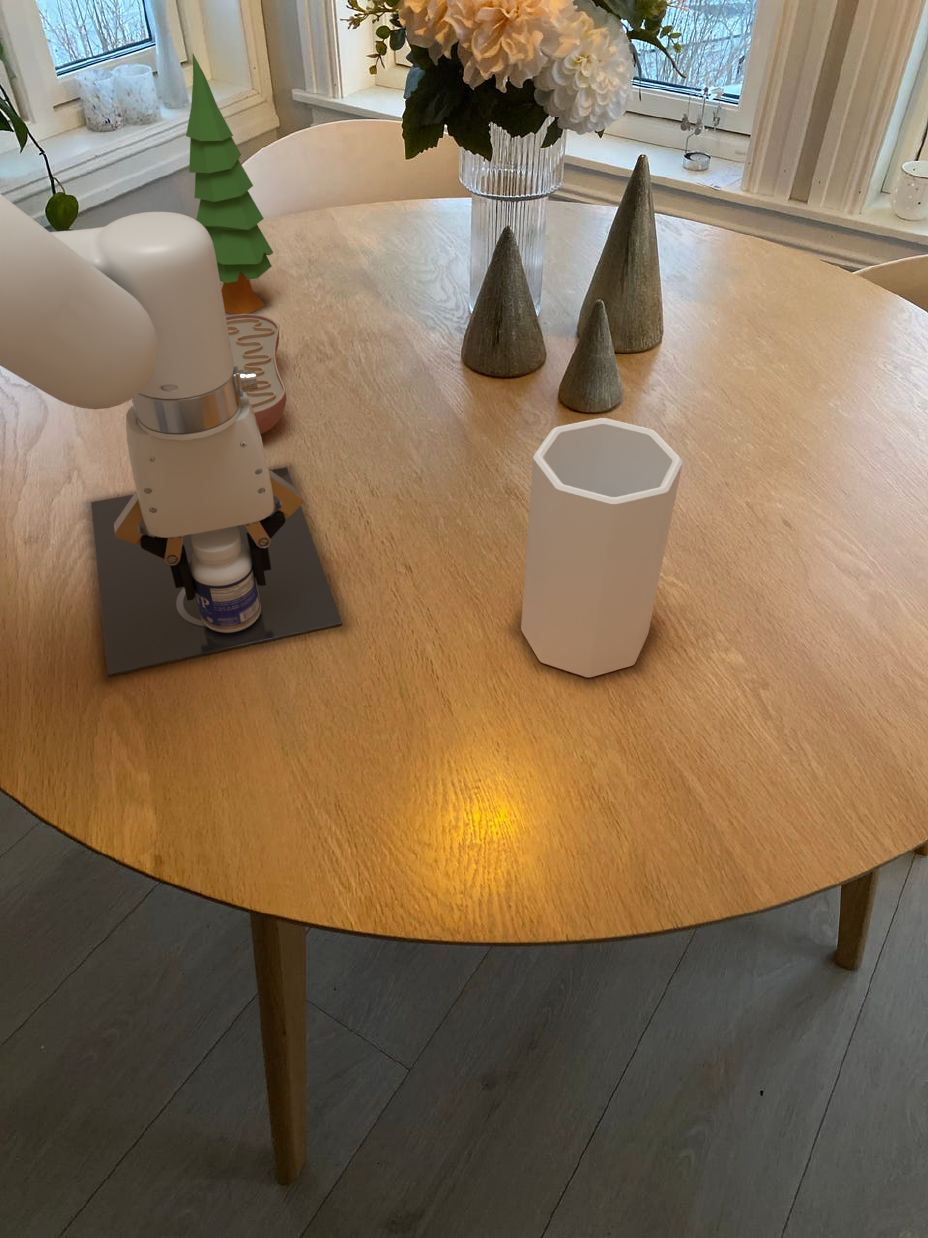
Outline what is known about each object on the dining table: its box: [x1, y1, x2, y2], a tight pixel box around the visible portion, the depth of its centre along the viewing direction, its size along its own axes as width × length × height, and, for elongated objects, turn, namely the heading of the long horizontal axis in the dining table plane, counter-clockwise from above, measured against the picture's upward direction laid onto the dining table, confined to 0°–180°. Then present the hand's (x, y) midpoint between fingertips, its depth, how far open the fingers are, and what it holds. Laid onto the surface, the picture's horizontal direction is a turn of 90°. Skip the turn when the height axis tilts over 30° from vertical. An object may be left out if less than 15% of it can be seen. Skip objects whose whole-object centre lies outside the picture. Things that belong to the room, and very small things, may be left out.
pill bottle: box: [189, 526, 261, 633], centre depth 82 cm, size 5×5×9 cm
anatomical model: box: [226, 313, 287, 435], centre depth 110 cm, size 23×10×5 cm, turn 11°
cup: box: [520, 417, 683, 678], centre depth 78 cm, size 11×11×18 cm
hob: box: [90, 466, 343, 677], centre depth 91 cm, size 20×25×1 cm
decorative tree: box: [185, 53, 274, 315], centre depth 119 cm, size 10×9×30 cm
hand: (224, 581), depth 82 cm, fingers closed on pill bottle, 5 cm apart
